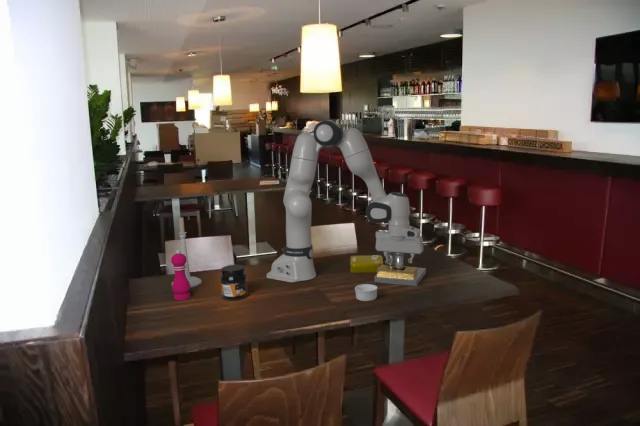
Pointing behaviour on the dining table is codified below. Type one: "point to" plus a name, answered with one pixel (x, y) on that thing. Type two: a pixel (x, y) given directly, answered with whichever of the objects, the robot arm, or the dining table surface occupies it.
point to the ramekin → (366, 292)
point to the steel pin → (399, 261)
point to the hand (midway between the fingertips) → (399, 262)
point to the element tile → (365, 263)
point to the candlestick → (192, 280)
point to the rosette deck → (399, 273)
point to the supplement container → (233, 282)
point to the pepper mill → (180, 277)
